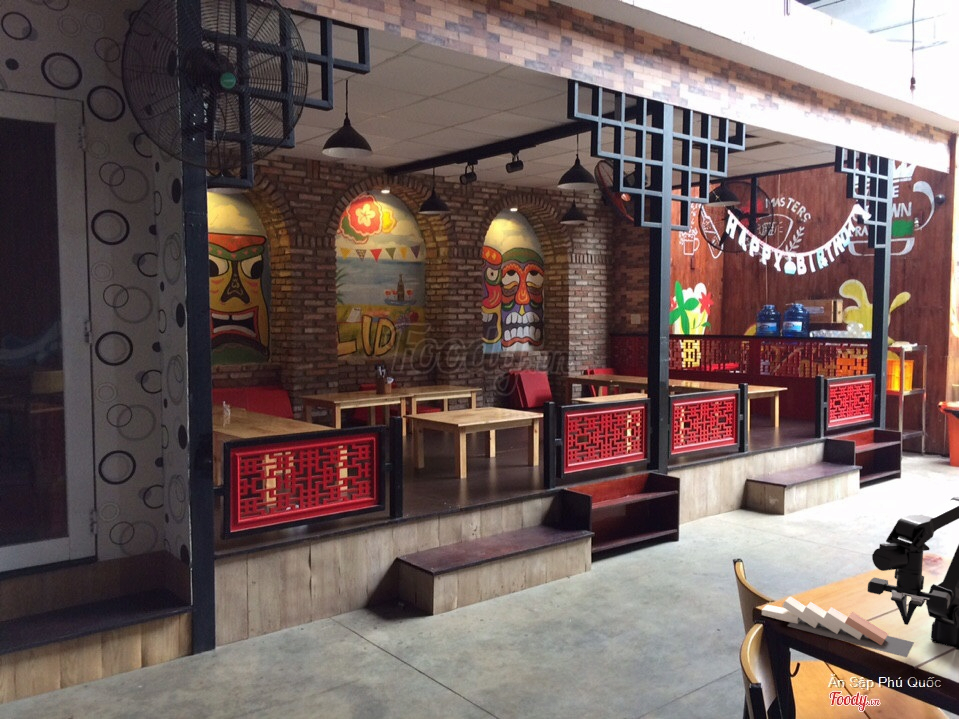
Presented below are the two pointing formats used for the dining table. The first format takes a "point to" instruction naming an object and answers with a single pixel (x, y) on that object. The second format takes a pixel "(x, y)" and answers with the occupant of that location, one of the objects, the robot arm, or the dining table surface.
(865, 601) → the dining table surface
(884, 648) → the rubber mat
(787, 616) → the ivory domino
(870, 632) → the terracotta domino
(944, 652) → the dining table surface
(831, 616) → the ivory domino
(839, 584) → the dining table surface
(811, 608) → the ivory domino
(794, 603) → the ivory domino
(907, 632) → the dining table surface
